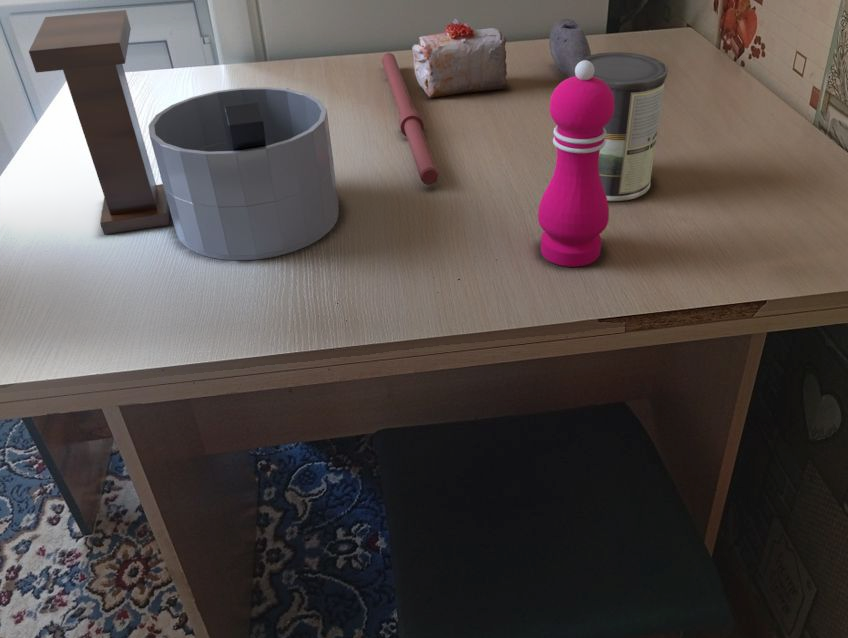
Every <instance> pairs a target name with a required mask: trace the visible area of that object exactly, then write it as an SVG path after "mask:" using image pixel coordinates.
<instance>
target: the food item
mask: <svg viewBox="0 0 848 638" xmlns="http://www.w3.org/2000/svg"><path fill="white" fill-rule="evenodd" d="M444 27H445V29H444V30H445V32H442V33H436V34H434V33H433V34H429V35H421V36H420V37H419V42H418V44H413V45H412V47H411V51H412V55H413V69H414V75H415V78H416V80H417V82H418V85H419V86H420V87H421V88H422V89H423V91H424V93H425V94H426V95H427V96H428V98H439V97H445V96H451V95H461V94H462V95H463V94H468V93H476V92H477V93H478V92H490V91H495V90H504V89H507V88H508V83H507V76H508V71H507V65H508V64H507V61H506V59H507V50H506V41H507V38H506V37H505V36H503V34H502V32H501V31H500V30H499V29H498V28H495V27H488V28H480V29H478V28H477V29H472V28H471V27H470V26H469V25H468V24H467V23H466V22H465V23H460V22H459V20H458V19H457V18H455V19H454V20H452V22H450V24H448V25H446V26H444Z"/></svg>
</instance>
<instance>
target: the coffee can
mask: <svg viewBox="0 0 848 638" xmlns="http://www.w3.org/2000/svg"><path fill="white" fill-rule="evenodd" d="M584 60H587V61H590V62H591V63H592V64H593V66H594V75H593V76H592V77H595V78H598V79H600V80H602V81H603V82H605V83H606V84H607V85H608V86H609V88H610V89H611V91H612V93H613V97H614V113H613V116H612V118H611V120H610V121H609V122H608V123H607V124H606V125H605V126H604V128H605V130H606V136H605V145H604V147H603V148H602V149H600V153H599V165H598V169H599V175H600V179H601V182H602V185H603V188H604V191H605V194H606V197H607V202H625V201H631V200H634V199H637V198H640V197H641V196H643V195H645V194H647V192H648V191H649V190H650V188H651V180H652V173H653V164H654V157H655V152H656V144H657V137H658V131H659V124H660V118H661V110H662V103H663V98H664V97H663V96H664V91H665V83H666V79H667V77H668V72H669V70H668V69H669V68H668V67H667V65H666V64H665V63H664V62H663V61H660V60H659V59H657V58H654V57H651V56H648V55H644V54H639V53H633V52H621V51H620V52H618V51H617V52H616V51H615V52H612V51H611V52H600V53H594V54H591V55H590V56H586V57H584V58H582V59H580V60H578V61H577V62H576V63H575V65H574V74H575V68H576V66H577V64H578V63H579V62H581V61H584ZM575 76H576V75H575Z"/></svg>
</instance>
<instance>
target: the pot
mask: <svg viewBox="0 0 848 638" xmlns="http://www.w3.org/2000/svg"><path fill="white" fill-rule="evenodd" d="M255 102H258V104H259V108H260V111H261V115H262V118H263V123H264V131H265V140H266V146H264V147H258V148H252V149H245V150H239V151H233V150H232V146H231V142H230V138H229V133H228V127H227V121H226V115H225V109H224V106H231V105H239V104H247V103H255ZM148 133H149V139H150V143H151V146H152V150H153V154H154V157H155V160H156V163H157V168H158V172H159V175H160V178H161V179H160V180H161V184H163V187H164V190H165V194H166V198H167V201H168V205H169V213H170V217H171V219H172V223H173V226H174V230H175V234H176V236H177V238H178V240H179V242H180V243H181V244H182V245H183V246H185V248H187V249H188V250H190V251H191V252H193V253H196V254H198V255H201V256H204V257H208V258H212V259H219V260H224V261H253V260H262V259H269V258H274V257H280V256H283V255H288V254H290V253H293V252H296V251H299V250H301V249H304V248H306V247H309V246H310V245H312V244H314V243H316V242H317V241H319V240H320V239H322V238H323V237H325V236H326V235H327V234H328V233H329V232H330V231H331V230H332V229H333V228H334V227H335V225H336V224H337V221H338V218H339V214H340V213H339V207H340V203H339V195H338V188H337V187H338V186H337V180H336V179H337V178H336V173H335V172H336V171H335V164H334V156H333V147H332V140H331V132H330V123H329V116H328V110H327V107H325V105H324V103H323V101H322V100H320V99H319V98H316V97H314V96H313V95H311V94H309V93H306V92H303V91H298V90H294V89H291V88H281V87H269V86H261V87H257V86H256V87H255V86H254V87H238V88H231V89H230V88H229V89H223V90H216V91H211V92H207V93H203V94H199V95H195V96H192V97H189V98H186V99H184V100H181V101H178V102H176V103H173V104H171V105H170V106H169V105H168V106H167V107H166V108H164V109H163V110H162V111H160V112H158V113H157V114H155V116H154V117H153V119H152V120H151V121H150V122H149V124H148Z"/></svg>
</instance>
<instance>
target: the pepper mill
mask: <svg viewBox="0 0 848 638" xmlns="http://www.w3.org/2000/svg"><path fill="white" fill-rule="evenodd" d="M575 75H576V76H574V77H570V78H566V79H564V80H562V81H561V82H560V83H559V84H558V85H557V86H556V87H554V90H553V92H552V94H551V96H550V101H549V114H550V115H549V116H550V117H551V119H552V121H553V122H554V124H555V125H556V126H555V127H554V128H553V138H552V143H553V145H554V146H555V147H556V162H555V168H554V171H553V174H552V177H551V179H550V181H549V183H548V185H547V187H546V188H545V190H544V192H543V194H542V197H541V199H540V202H539V205H538V212H537V220H538V224H539V226H540V228H541V229H542V231H543V232H542V234H541V238H540V239H541V242H540V253H541V255H542V256H543V258H545V260H547V261H548V262H550V263H552V264H555V265H557V266H562V267H566V268H568V267H569V268H570V267H571V268H576V267H577V268H578V267H584V266H587V265H588V266H589V265H590V264H592V263H594V262H596V261H597V259H598V258H599V257H600V255H601V248H602V237H601V234H602V233H603V232H604V231H605V230H606V228H607V226H608V224H609V217H610V208H609V201H607V197H606V194H605V191H604V188H603V185H602V182H601V179H600V175H599V169H598V165H599V153H600V149H602V148H603V147H604V145H605V136H606V130H605V128H604V126H605V125H606V124H607V123H608V122H609V121H610V120H611V118H612V116H613V113H614V97H613V93H612V91H611V89H610V88H609V86H608V85H607V84H606V83H605V82H603V81H602V80H600V79H598V78H595V77H592V76H593V75H594V66H593V64H592V63H591V62H590V61H587V60H584V61H581V62H579V63H578V64H577V66H576V68H575Z"/></svg>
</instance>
